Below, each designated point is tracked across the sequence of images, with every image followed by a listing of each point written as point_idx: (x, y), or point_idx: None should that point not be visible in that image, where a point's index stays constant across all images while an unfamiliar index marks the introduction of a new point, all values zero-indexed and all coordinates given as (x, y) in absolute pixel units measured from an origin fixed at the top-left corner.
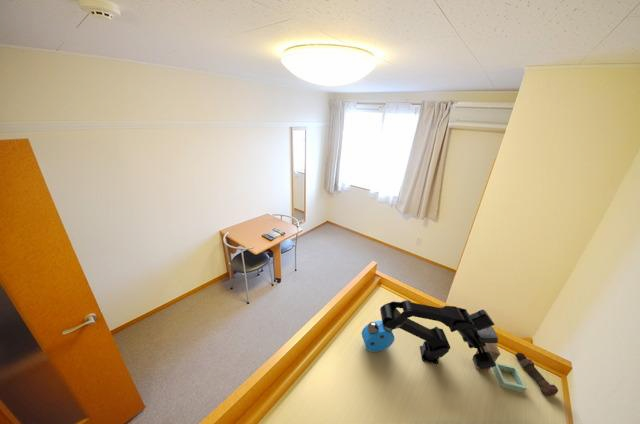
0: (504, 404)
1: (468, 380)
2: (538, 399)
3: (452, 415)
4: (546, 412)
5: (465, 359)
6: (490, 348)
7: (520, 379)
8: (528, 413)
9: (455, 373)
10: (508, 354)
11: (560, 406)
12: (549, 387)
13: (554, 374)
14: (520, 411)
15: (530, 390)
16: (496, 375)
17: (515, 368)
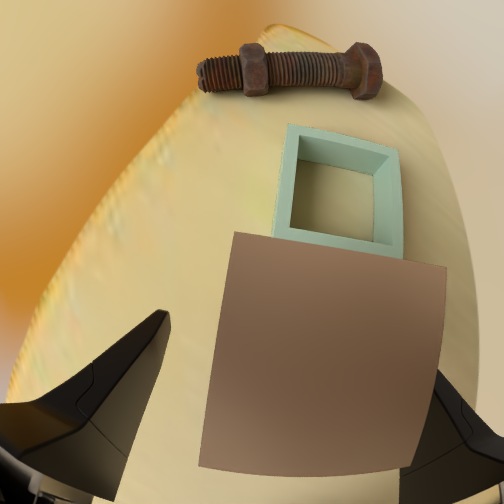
0: None
1: None
2: (389, 129)
3: None
4: (424, 139)
5: None
6: (372, 414)
7: (360, 146)
8: (450, 210)
9: (328, 482)
10: (191, 117)
11: (385, 82)
12: (378, 63)
13: (269, 29)
14: (453, 240)
15: (362, 132)
16: None
17: (298, 129)
